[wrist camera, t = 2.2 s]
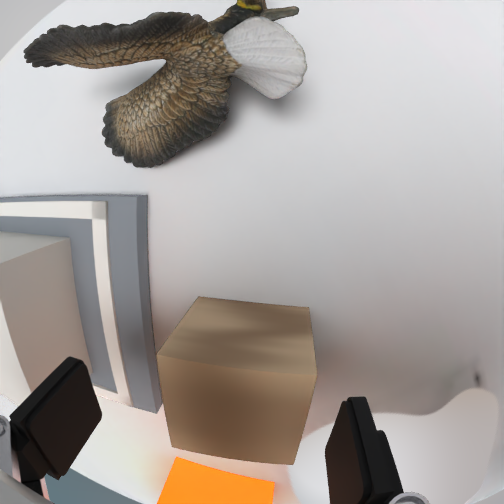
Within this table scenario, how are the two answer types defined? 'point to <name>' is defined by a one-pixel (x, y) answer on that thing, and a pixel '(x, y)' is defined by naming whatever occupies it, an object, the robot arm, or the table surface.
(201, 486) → the orange juice
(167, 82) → the eagle figurine
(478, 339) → the table surface
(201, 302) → the oak cube
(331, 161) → the table surface
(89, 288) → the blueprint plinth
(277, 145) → the table surface
